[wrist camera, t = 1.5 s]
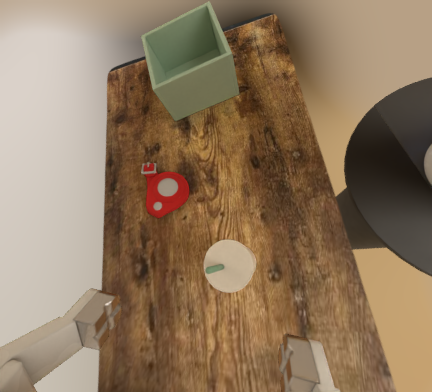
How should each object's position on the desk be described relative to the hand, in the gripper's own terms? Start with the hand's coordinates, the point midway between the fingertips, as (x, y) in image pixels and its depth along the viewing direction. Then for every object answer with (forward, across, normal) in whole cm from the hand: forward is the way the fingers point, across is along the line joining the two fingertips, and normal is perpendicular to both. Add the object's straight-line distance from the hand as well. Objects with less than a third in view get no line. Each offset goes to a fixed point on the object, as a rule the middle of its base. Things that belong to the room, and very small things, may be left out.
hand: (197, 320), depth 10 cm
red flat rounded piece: (+31, +14, +7) cm, 35 cm away
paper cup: (+21, -2, +14) cm, 26 cm away
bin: (+46, +13, -14) cm, 50 cm away
